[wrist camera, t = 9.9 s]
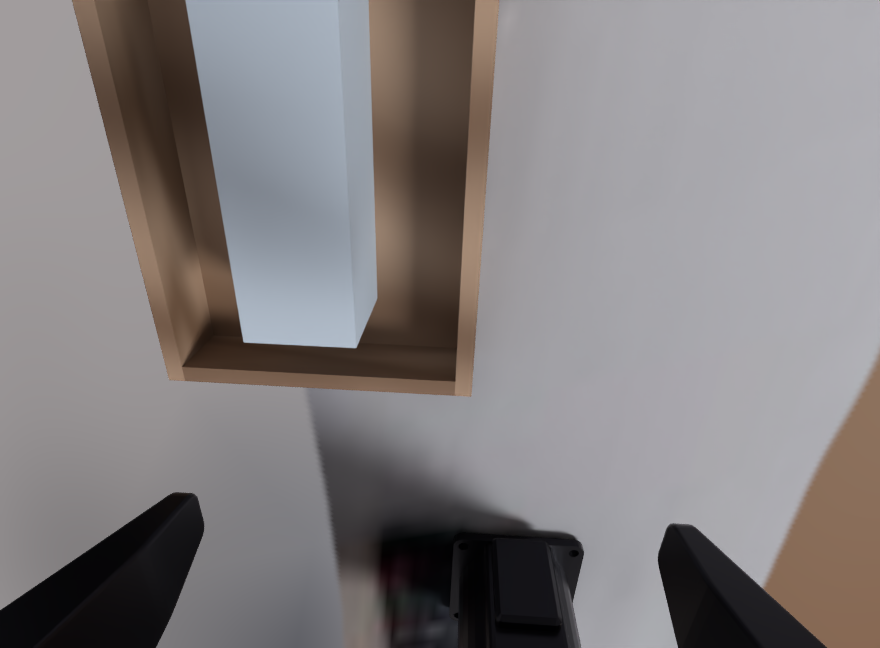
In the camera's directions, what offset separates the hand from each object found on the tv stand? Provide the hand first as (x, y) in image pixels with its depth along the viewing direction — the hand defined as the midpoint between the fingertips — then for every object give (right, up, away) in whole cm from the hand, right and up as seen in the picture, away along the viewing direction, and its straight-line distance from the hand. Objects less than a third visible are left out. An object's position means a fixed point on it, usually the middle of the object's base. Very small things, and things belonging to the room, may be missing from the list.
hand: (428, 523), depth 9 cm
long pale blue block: (-4, +10, +7) cm, 13 cm away
